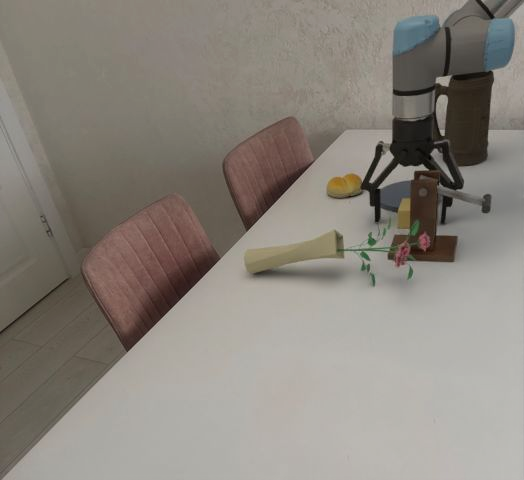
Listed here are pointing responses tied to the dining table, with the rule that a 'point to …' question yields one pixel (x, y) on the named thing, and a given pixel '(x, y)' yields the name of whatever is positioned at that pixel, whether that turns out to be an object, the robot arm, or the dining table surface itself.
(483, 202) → the grey t-shaped bar
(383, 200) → the plate
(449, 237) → the brown wooden stand
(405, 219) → the butter pat
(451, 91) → the beer stein
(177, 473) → the dining table surface
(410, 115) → the robot arm
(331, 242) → the flower vase
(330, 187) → the bread roll
